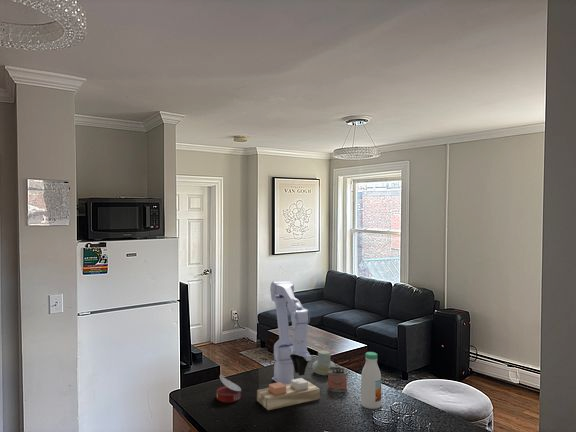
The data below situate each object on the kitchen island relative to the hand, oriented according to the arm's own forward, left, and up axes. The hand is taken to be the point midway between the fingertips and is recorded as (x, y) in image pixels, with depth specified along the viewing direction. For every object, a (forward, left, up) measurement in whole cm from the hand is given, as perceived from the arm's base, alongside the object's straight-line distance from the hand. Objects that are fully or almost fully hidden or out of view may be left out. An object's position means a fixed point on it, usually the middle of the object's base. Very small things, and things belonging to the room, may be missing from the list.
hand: (299, 373), depth 170 cm
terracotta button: (0, -10, -6) cm, 12 cm away
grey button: (0, 0, -6) cm, 6 cm away
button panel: (0, -5, -9) cm, 11 cm away
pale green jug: (-18, +24, -10) cm, 32 cm away
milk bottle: (+19, +21, -10) cm, 30 cm away
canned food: (-13, -25, -10) cm, 30 cm away
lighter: (+1, +18, -10) cm, 20 cm away
